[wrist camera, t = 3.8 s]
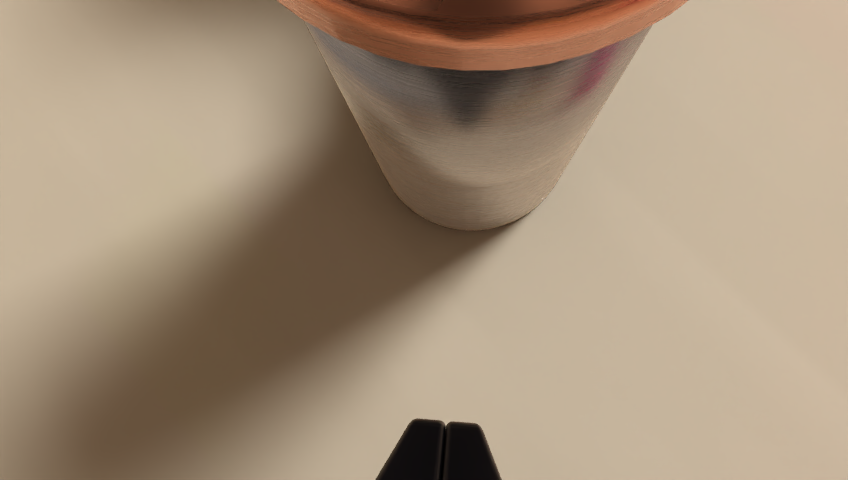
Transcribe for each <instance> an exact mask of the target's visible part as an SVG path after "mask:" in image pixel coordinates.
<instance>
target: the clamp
mask: <svg viewBox="0 0 848 480" xmlns="http://www.w3.org/2000/svg"><path fill="white" fill-rule="evenodd" d="M277 1H278V2H280V3H281V4H283V5H284V6H285V7H287V8H288V9H289V10H291V11H292V12H293V13H295V14H296V15H297V16H299V17H300V18H301V19H303V20H304V22H305V24H306V26H307V28H308V30H309V31H310V33H311V35H312V37H313V39H314V41H315V43H316V45H317V47H318V49H319V51H320V53H321V55H322V57H323V58H324V60H325V62H326V64H327V66H328V68H329V70H330V72H331V74H332V76H333V78H334V80H335V82H336V83H337V85H338V87H339V89H340V91H341V93H342V95H343V97H344V99H345V101H346V103H347V105H348V107H349V109H350V110H351V112H352V114H353V116H354V118H355V120H356V122H357V124H358V126H359V128H360V130H361V132H362V134H363V135H364V137H365V139H366V141H367V143H368V145H369V147H370V149H371V151H372V153H373V155H374V157H375V159H376V161H377V162H378V164H379V166H380V168H381V170H382V172H383V174H384V176H385V178H386V180H387V181H388V183H389V185H390V187H391V188H392V190H393V191H394V192H395V193H396V195H397V196H398V197H399V199H400V200H401V201H402V202H403V203H404V204H405V205H406V206H407V207H409V208H410V209H411V210H413V211H414V212H415V213H417V214H418V215H420V216H421V217H423V218H425V219H427V220H428V221H431V222H433V223H436V224H438V225H440V226H444V227H448V228H452V229H458V230H486V229H492V228H496V227H500V226H504V225H506V224H508V223H511V222H513V221H516V220H517V219H519V218H521V217H523V216H524V215H526V214H528V213H529V212H530V211H532V210H533V209H534V208H536V207H537V206H538V205H539V204H540V203H541V202H542V201H543V200H544V199H545V198H546V197H547V195H548V194H549V193H550V192H551V190H552V189H553V188H554V186H555V184H556V183H557V181H558V179H559V178H560V176H561V174H562V173H563V171H564V170H565V168H566V166H567V165H568V163H569V161H570V160H571V158H572V156H573V155H574V153H575V151H576V150H577V148H578V147H579V145H580V143H581V142H582V140H583V138H584V137H585V135H586V133H587V132H588V130H589V128H590V127H591V125H592V124H593V122H594V120H595V119H596V117H597V115H598V114H599V112H600V110H601V109H602V107H603V105H604V104H605V102H606V101H607V99H608V97H609V96H610V94H611V92H612V91H613V89H614V87H615V86H616V84H617V82H618V81H619V79H620V77H621V76H622V74H623V73H624V71H625V69H626V68H627V66H628V64H629V63H630V61H631V59H632V58H633V56H634V54H635V53H636V51H637V50H638V48H639V46H640V45H641V43H642V41H643V40H644V38H645V36H646V35H647V33H648V31H649V30H650V28H651V27H652V25H653V24H654V23H656V22H658V21H659V20H661V19H663V18H665V17H666V16H668V15H670V14H671V13H672V12H674V11H675V10H676V9H678V8H679V7H680V6H682V5H683V4H684V3H686V2H687V1H688V0H277Z"/></svg>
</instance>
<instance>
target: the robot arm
mask: <svg viewBox="0 0 848 480" xmlns="http://www.w3.org/2000/svg"><path fill="white" fill-rule="evenodd" d="M376 480H502V479H501V477H500V474H499V472H498V469H497V466H496V464H495V461H494V459H493V456H492V453H491V451H490V448H489V445H488V443H487V440H486V438H485V435H484V432H483V430H482V428H481V427H480V426H479V425H478V424H476V423H465V422H449V423H448V424H447V426H445V424H444V422H442V421H440V420H429V419H414V420H412V421H411V422H410V423H409V425H408V426H407V428H406V430H405V431H404V433H403V435H402V436H401V438H400V440H399V441H398V443H397V445H396V446H395V448H394V450H393V451H392V453H391V455H390V456H389V458H388V460H387V461H386V463H385V465H384V466H383V468H382V470H381V471H380V473H379V475H378V476H377V478H376Z"/></svg>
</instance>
